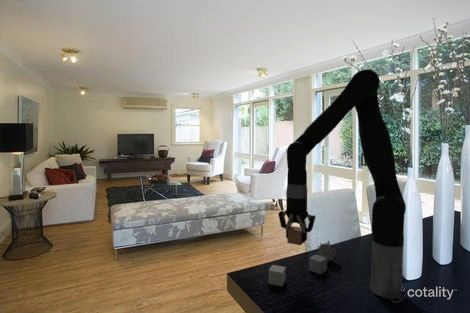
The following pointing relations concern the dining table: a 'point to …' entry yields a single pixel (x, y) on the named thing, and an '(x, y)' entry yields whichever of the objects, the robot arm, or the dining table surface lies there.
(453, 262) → the dining table surface
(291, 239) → the terracotta cube
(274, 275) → the cream cube
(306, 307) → the dining table surface
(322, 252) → the small potted plant
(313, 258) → the blue-grey cube
